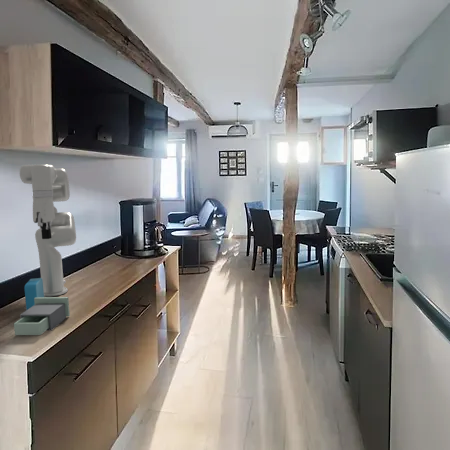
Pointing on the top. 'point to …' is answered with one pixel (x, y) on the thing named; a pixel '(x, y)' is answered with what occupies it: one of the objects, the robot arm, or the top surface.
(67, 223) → the robot arm
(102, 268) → the top surface
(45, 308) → the mailer sleeve
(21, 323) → the tray
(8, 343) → the top surface
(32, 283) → the data package
